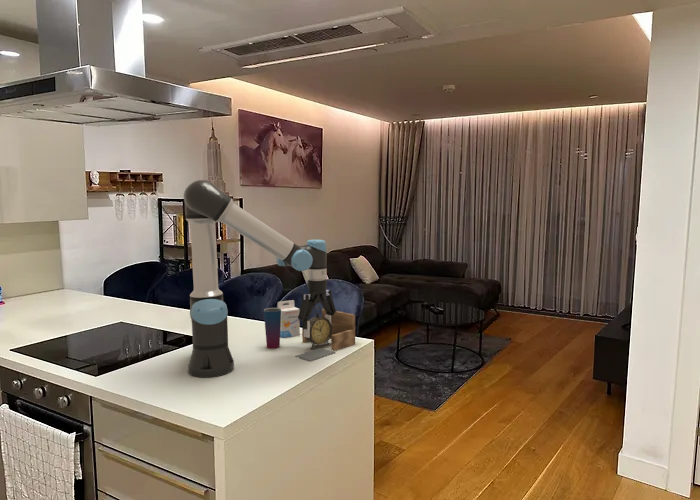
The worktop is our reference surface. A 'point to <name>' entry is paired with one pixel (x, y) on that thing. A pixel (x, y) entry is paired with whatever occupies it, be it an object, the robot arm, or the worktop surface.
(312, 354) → the slate pad
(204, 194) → the robot arm
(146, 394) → the worktop surface
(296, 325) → the ink box
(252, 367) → the worktop surface
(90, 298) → the worktop surface
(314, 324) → the alarm clock
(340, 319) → the wooden holder
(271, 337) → the cup
